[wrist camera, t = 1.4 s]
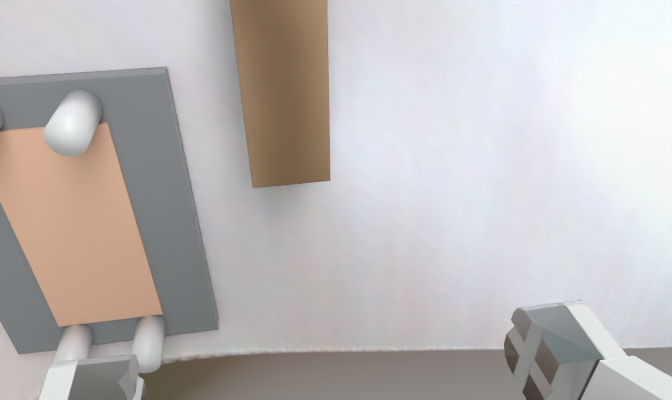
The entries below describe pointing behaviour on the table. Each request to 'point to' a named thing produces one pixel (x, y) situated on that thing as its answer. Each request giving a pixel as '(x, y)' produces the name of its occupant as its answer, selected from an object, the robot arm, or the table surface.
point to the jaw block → (284, 88)
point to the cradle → (97, 216)
